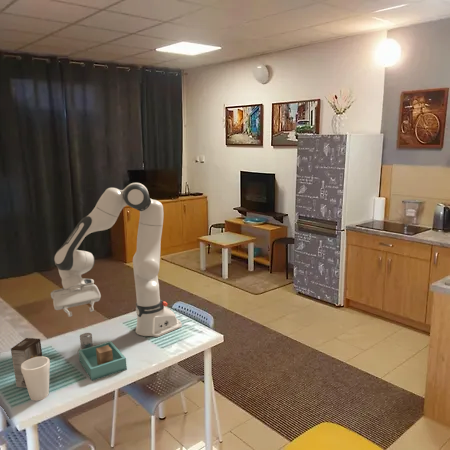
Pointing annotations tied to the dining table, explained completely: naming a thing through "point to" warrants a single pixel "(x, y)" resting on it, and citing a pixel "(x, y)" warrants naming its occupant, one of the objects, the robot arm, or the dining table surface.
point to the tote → (99, 371)
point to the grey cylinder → (86, 340)
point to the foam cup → (36, 377)
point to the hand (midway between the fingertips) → (81, 313)
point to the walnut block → (104, 355)
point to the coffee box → (24, 357)
